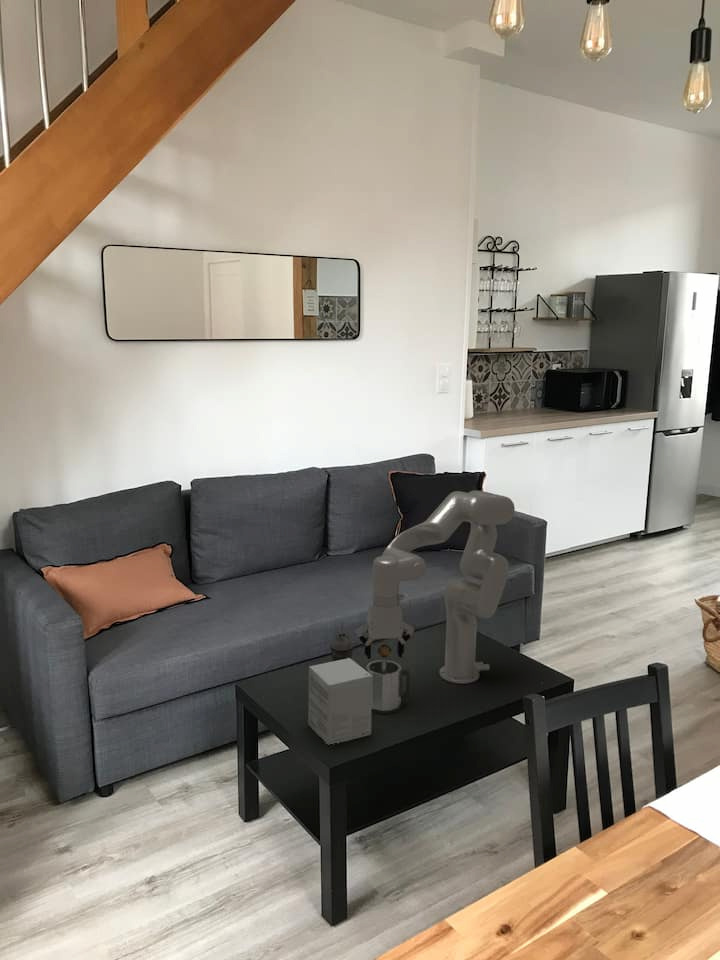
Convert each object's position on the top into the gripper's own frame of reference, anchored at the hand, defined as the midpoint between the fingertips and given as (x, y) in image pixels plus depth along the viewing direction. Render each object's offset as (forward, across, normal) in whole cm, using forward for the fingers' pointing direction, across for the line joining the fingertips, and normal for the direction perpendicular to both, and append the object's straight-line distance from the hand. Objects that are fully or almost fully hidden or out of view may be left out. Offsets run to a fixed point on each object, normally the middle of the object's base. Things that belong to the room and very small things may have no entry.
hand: (384, 656), depth 225 cm
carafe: (+15, -1, 0) cm, 15 cm away
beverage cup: (+16, +10, -17) cm, 25 cm away
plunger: (+13, 0, 0) cm, 13 cm away
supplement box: (+16, +14, +12) cm, 25 cm away
